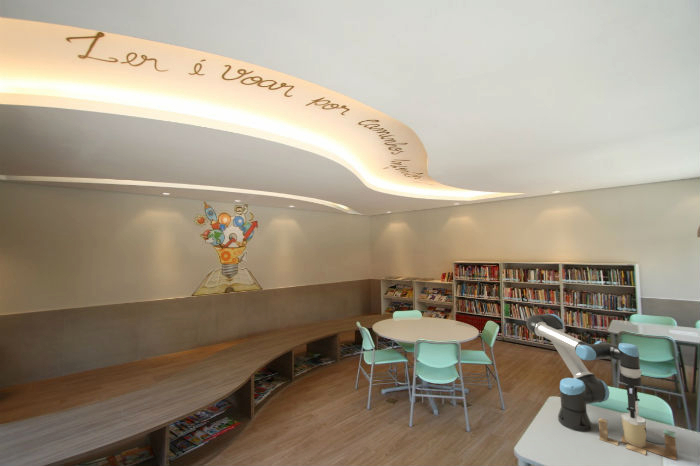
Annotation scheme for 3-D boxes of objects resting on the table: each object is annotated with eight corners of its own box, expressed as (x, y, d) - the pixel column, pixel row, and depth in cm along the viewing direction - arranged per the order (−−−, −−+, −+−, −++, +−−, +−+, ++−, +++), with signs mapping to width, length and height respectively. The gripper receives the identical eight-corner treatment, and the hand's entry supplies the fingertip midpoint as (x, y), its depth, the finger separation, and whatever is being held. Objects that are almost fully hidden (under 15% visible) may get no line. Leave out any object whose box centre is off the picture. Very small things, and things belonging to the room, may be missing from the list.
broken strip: (599, 439, 155) (598, 420, 155) (600, 436, 158) (599, 417, 158) (645, 455, 143) (644, 434, 143) (646, 451, 145) (644, 431, 146)
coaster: (633, 436, 157) (633, 436, 157) (635, 427, 165) (635, 426, 165) (667, 447, 148) (667, 446, 148) (667, 436, 156) (667, 436, 156)
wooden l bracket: (621, 442, 152) (619, 421, 153) (622, 435, 158) (621, 415, 159) (677, 460, 138) (675, 437, 139) (677, 452, 144) (675, 430, 145)
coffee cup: (653, 449, 146) (651, 423, 147) (630, 446, 148) (628, 421, 149) (639, 437, 155) (637, 413, 156) (618, 435, 157) (616, 411, 158)
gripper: (639, 385, 142) (643, 432, 141) (642, 370, 159) (646, 412, 158) (618, 380, 148) (622, 425, 146) (623, 367, 165) (626, 407, 163)
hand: (634, 418), depth 152 cm, fingers open, 13 cm apart
